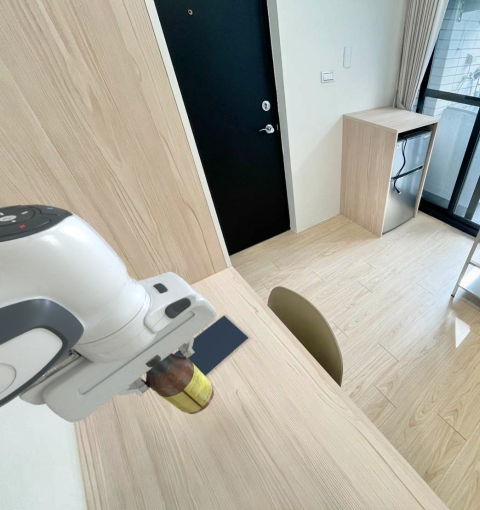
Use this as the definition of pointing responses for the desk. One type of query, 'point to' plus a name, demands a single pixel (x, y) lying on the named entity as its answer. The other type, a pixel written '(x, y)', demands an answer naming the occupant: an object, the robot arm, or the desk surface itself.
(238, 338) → the cloth
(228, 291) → the desk surface
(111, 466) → the desk surface
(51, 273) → the robot arm
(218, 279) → the desk surface
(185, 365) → the sauce bottle
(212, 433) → the desk surface
